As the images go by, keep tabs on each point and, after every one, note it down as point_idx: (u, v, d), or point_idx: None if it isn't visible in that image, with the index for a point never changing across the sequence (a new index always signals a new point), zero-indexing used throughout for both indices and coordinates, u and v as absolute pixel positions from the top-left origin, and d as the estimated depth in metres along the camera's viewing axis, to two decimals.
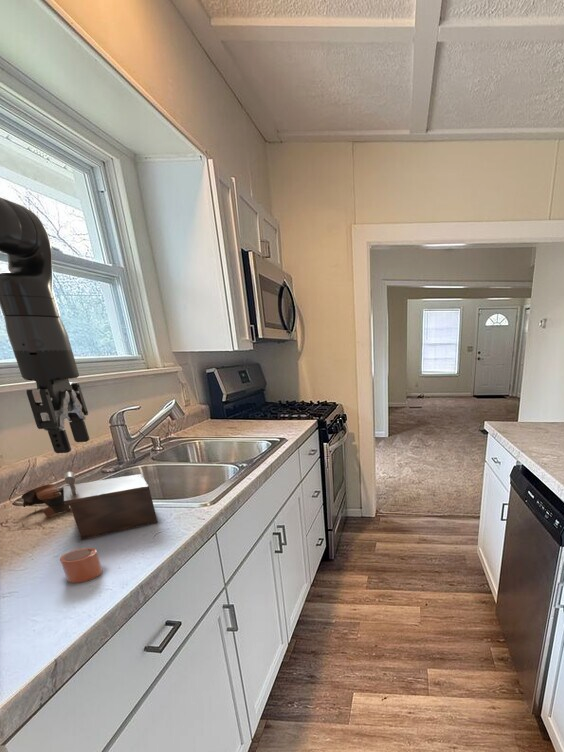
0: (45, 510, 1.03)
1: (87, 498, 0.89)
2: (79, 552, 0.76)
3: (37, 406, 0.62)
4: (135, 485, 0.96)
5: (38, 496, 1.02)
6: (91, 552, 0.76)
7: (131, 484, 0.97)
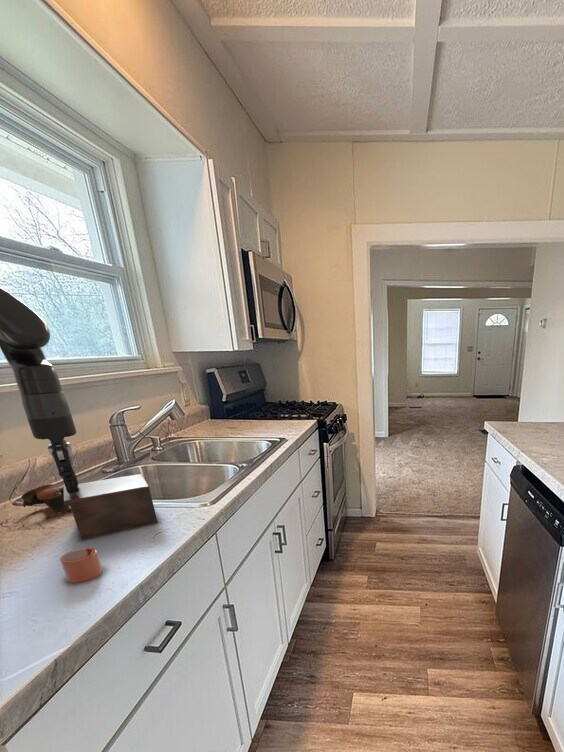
0: (45, 510, 1.02)
1: (87, 498, 0.89)
2: (79, 552, 0.76)
3: None
4: (135, 485, 0.96)
5: (38, 496, 1.02)
6: (91, 552, 0.76)
7: (131, 484, 0.97)
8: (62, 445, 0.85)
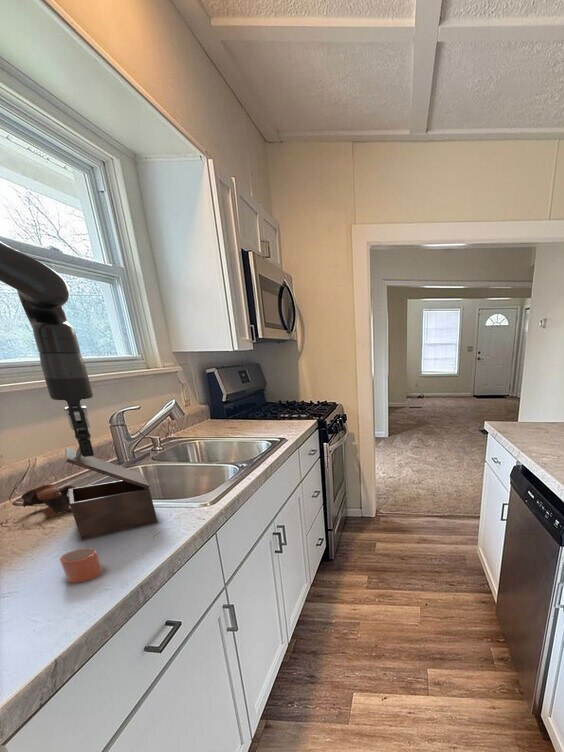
0: (45, 510, 1.02)
1: (89, 467, 0.88)
2: (79, 552, 0.76)
3: None
4: (137, 479, 0.96)
5: (38, 496, 1.02)
6: (91, 552, 0.76)
7: (133, 477, 0.97)
8: (79, 407, 0.85)
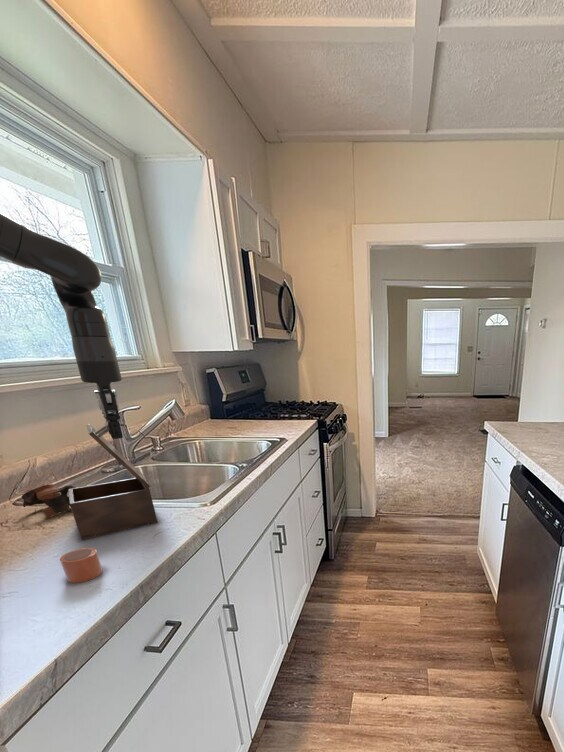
0: (45, 510, 1.02)
1: (106, 447, 0.88)
2: (79, 552, 0.76)
3: None
4: (141, 476, 0.96)
5: (38, 496, 1.02)
6: (91, 552, 0.76)
7: (137, 473, 0.97)
8: (109, 389, 0.87)
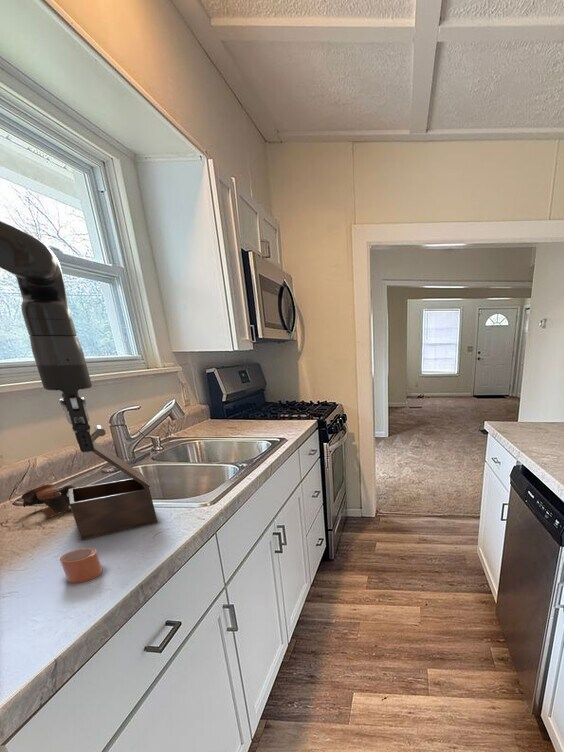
0: (45, 510, 1.02)
1: (99, 454, 0.88)
2: (79, 552, 0.76)
3: None
4: (139, 477, 0.96)
5: (38, 496, 1.02)
6: (91, 552, 0.76)
7: (136, 474, 0.97)
8: (76, 396, 0.75)
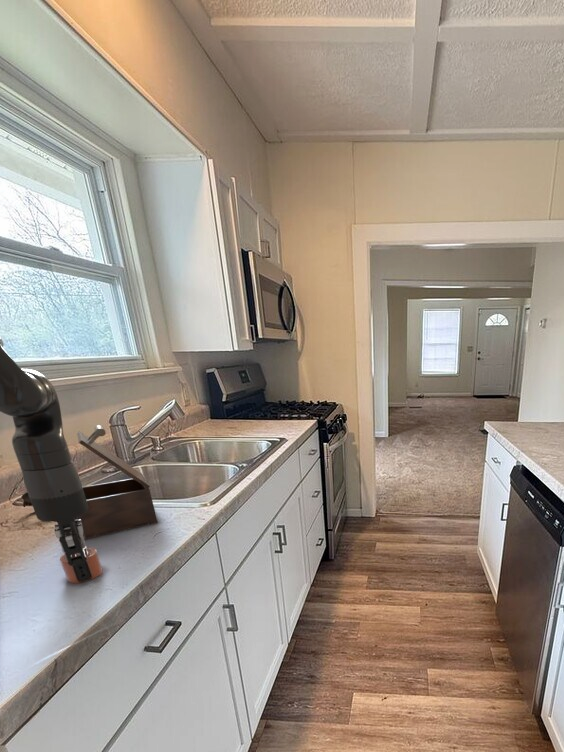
0: None
1: (99, 454, 0.88)
2: None
3: None
4: (139, 477, 0.96)
5: None
6: (91, 552, 0.76)
7: (136, 474, 0.97)
8: (72, 527, 0.70)
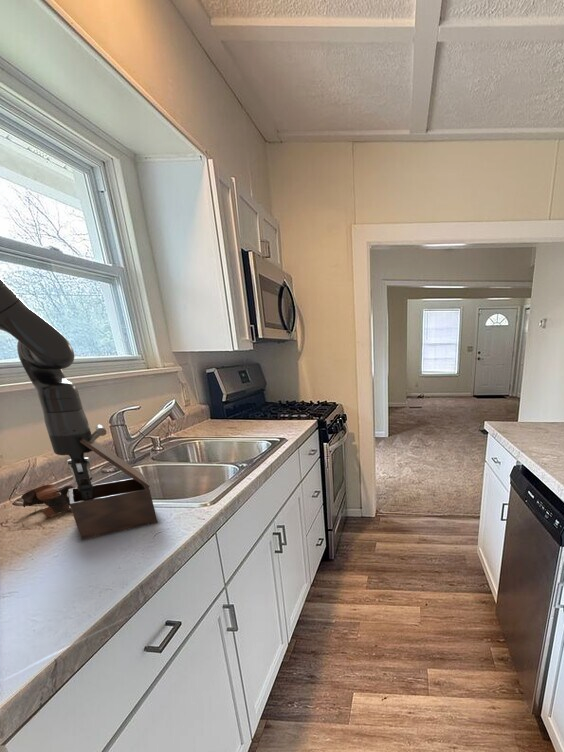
0: (45, 510, 1.02)
1: (100, 453, 0.88)
2: None
3: None
4: (139, 477, 0.96)
5: (38, 496, 1.02)
6: None
7: (136, 474, 0.97)
8: (81, 460, 0.88)
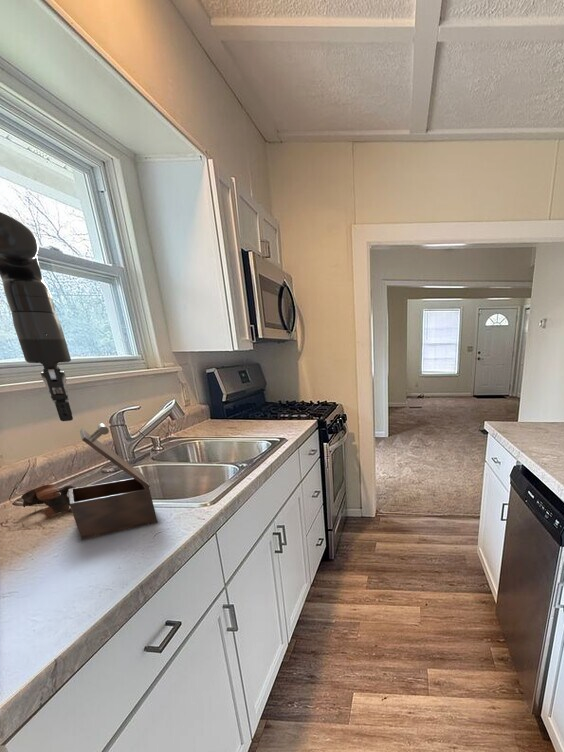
0: (45, 510, 1.02)
1: (101, 452, 0.88)
2: None
3: None
4: (139, 477, 0.96)
5: (38, 496, 1.02)
6: None
7: (136, 473, 0.97)
8: (55, 368, 0.81)
